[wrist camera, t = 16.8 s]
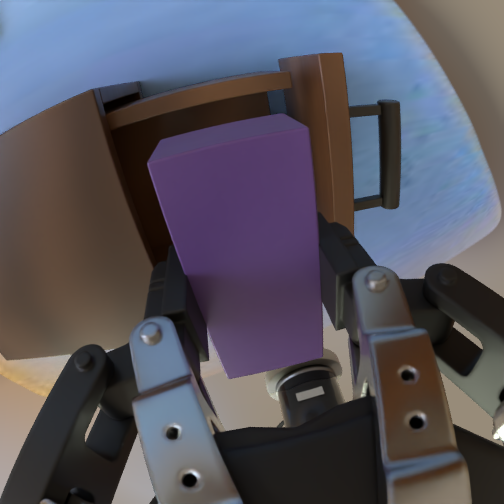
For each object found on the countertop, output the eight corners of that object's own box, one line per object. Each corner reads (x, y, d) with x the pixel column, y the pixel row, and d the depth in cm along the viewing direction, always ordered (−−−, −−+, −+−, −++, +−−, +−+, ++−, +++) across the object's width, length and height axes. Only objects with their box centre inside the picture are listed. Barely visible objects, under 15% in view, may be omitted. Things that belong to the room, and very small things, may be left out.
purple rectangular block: (306, 314, 14) (323, 357, 12) (222, 334, 14) (228, 380, 12) (283, 112, 9) (309, 127, 7) (159, 139, 9) (145, 162, 7)
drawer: (357, 54, 18) (424, 55, 11) (366, 210, 25) (415, 262, 18) (86, 108, 17) (32, 131, 11) (140, 260, 24) (124, 330, 18)
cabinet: (139, 80, 18) (92, 88, 10) (188, 250, 26) (185, 337, 18) (-20, 155, 17) (-91, 204, 9) (42, 285, 25) (6, 360, 17)
